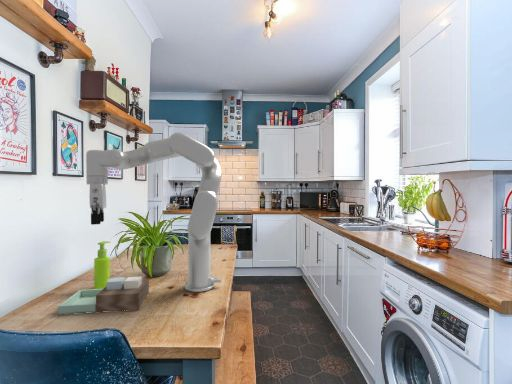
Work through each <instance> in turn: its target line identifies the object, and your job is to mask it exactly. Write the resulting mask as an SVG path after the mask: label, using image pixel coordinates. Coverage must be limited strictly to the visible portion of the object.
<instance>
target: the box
mask: <svg viewBox="0 0 512 384" xmlns="http://www.w3.org/2000/svg"><path fill="white" fill-rule="evenodd" d="M102 290H103V289H94V288H93V289H92V288H91V289H79V290H78V291H76V292H75V293H74V294H72V295H71V296H70V297H69V298H67V299H66V300H64V301H63V302H62V303H61V304H59V305H58V306H57V316H62V315H61V314H69V315H75V314H74V313H86V312H96V295H97V294H98V293H99V292H100V291H102ZM86 314H87V313H86Z"/></svg>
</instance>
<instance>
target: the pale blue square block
mask: <svg viewBox="0 0 512 384" xmlns="http://www.w3.org/2000/svg"><path fill="white" fill-rule="evenodd" d="M125 280H126V277H123V276H122V277H110V280H108V281H107V290H111V289H122V288H123V286H124V281H125Z"/></svg>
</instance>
